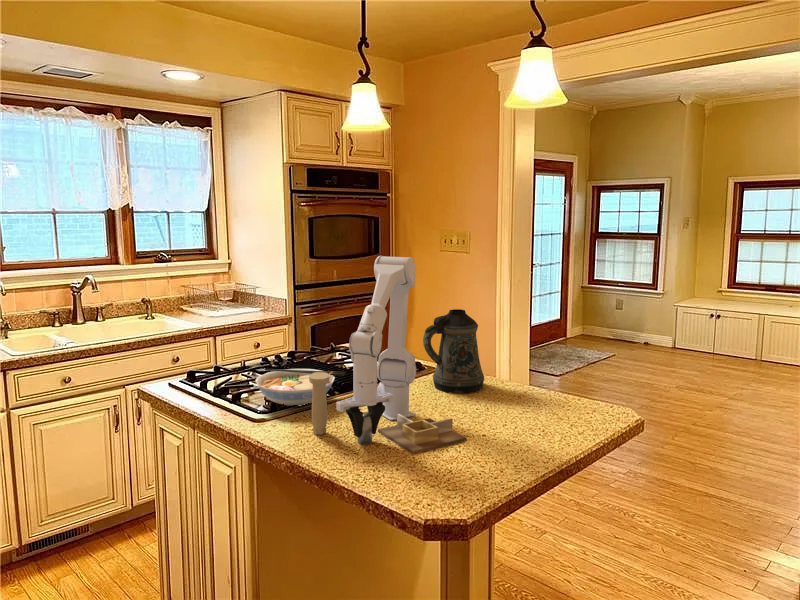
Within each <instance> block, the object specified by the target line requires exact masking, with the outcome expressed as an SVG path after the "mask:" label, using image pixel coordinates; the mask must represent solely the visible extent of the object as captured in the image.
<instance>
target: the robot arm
mask: <svg viewBox="0 0 800 600" xmlns="http://www.w3.org/2000/svg"><path fill="white" fill-rule="evenodd" d="M416 268H417V266H416V263H415V260H414V259H413V257H412V256H408V257H407V256H406V257H404V256H384V255H379V256H377V257H376V259H375V260H374V264H373V273H374V277H375V280H376V282H375V287H374V291H373V296H372V299H371V304H369V305H366V306H365V308H364V310H363V314H362V316H361V319H360V321H359V325H358V327H357V330H356V331H355V332H352V333H351V335H350V337H349V343H348V350H349V353H350V360H351V362H352V363H353V364H352V366H353V372H352V373H353V377H352V379H353V380H352V381H353V387H352V388H353V389H352V391H353V395H352V397H348V398H345V399H343V400H338V401H336V402H335V403H336V411H338V412H340V413H342V412H344V411H345V412H346V414H347V416H348V418H349V421H350V423H351V426H352V431H353V436H355V437H356V438H357V439H358V438H359V437H361V422H362V417H363V412H364V411H363V412H362V410H361V408H364V407H367V412H369V413H372V414H373V421H372V435H376V433H377V431H378V426H379V424H380V421H381V418H382V417H384V418H386V419H388V420H389V421H395V420H396V421H397V414H400V415H402V416H404V417H406V418H410V417H411V418H412V417H416V413H414V412H412V411H410V385H411V384H412V383H413V382H414V381H415V379H416V375H417V366H416V356H415V355H414V354H413V353H412V352H411V351H409V350H408V348H407V347H406V345H407V344H406V343H407V342H406V341H407V327H408V306H409V293H410V289H412V288H414V287H415V283H416V272H417V271H416ZM388 302H389V318H388V319H389V321H388V336H387V337H388V339H387V348H386V349H385V350H383V351H382V352H381V350H382V343H383V341H382V340H383V336H384V335H383V333H382V332H383V330H384V326H385V323H386V320H387V317H388V313H387V310H386V306H387V304H388ZM378 380H379V381H380V382H379V383H378Z"/></svg>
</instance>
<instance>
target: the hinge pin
mask: <svg viewBox="0 0 800 600" xmlns="http://www.w3.org/2000/svg"><path fill="white" fill-rule="evenodd" d="M372 421H373V414H372V413H369V412H368V411H363V417H362V422H361V437H359V438H358V437H357V444H358V445H361V446H369V445H372V444H373V434H372Z"/></svg>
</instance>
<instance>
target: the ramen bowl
mask: <svg viewBox="0 0 800 600" xmlns="http://www.w3.org/2000/svg"><path fill="white" fill-rule="evenodd" d="M264 371H268V372H266V373H264V374H261V375H259V376H258V377H257V378H256V379H255V383H256V385H257V386H258V387H257V388H258V389H259V391H260V392H261V393H262V394H263V396H264V398H266V399H268V400H270V401H271V402H274V403H276V404H279V405H283V404H284V405H283V406H285V405H304V404H307V405H308V403H309V404H312V395H313V384H312V383H310V382H309V376H310V374H312V373H315V372H325V373H328V374H329V382H328V383H326V394H327V393H328V392H329V391H330V389H331V388H332V386H333V383H334V381H335V379H336V377H335V376H338V377H339V376H340V377H343V376H344V375H346V371H330V370H329V371H328V370H326V371H325V370H321V369H313V368H288V369H279V368H278V369H275V368H265V369H264ZM269 371H270V372H269Z"/></svg>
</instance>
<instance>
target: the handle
mask: <svg viewBox="0 0 800 600" xmlns="http://www.w3.org/2000/svg"><path fill="white" fill-rule="evenodd" d="M309 382H310V383H312V384H313V395H312V403H311V424H312V432H313V434H315V436H316V435H324V434H326V432H327V424H328V403H327V400H328V399H327V393H326V383H328V382H329V374H328V373H325V372H315V373H312V374H310V376H309Z"/></svg>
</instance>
